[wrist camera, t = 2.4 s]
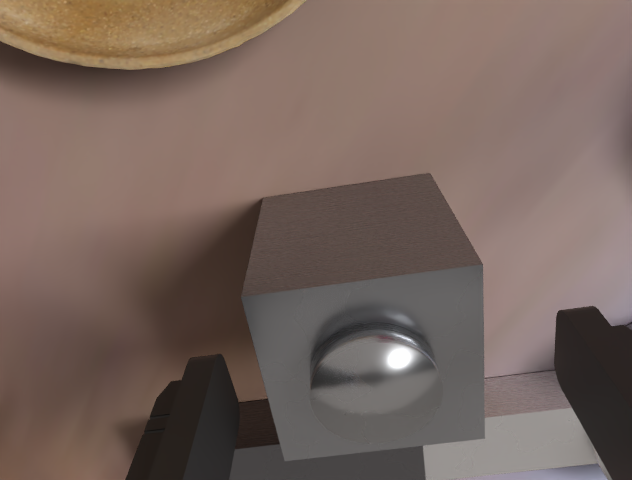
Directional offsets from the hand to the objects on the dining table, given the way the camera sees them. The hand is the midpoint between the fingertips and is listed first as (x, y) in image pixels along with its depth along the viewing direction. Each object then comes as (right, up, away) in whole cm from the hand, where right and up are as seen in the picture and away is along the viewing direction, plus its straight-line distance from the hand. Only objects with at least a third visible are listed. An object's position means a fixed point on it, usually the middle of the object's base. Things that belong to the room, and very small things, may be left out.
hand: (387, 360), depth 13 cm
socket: (0, +2, +6) cm, 6 cm away
